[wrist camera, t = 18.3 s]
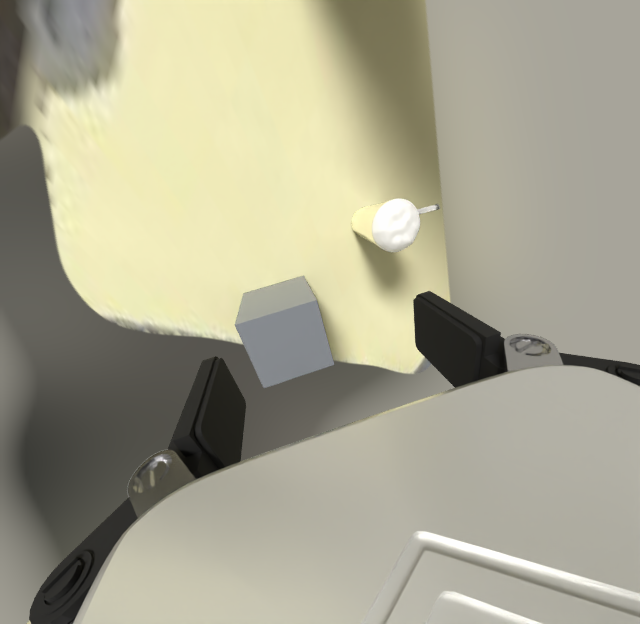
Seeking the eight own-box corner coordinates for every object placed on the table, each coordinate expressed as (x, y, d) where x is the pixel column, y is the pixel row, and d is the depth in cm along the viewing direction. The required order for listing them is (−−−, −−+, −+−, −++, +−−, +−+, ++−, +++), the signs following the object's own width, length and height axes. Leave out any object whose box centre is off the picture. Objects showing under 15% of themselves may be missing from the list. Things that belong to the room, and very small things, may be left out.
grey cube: (243, 293, 29) (234, 325, 21) (303, 275, 30) (316, 299, 22) (264, 344, 33) (263, 388, 25) (318, 327, 33) (334, 364, 25)
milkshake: (392, 224, 30) (447, 230, 21) (356, 248, 30) (395, 265, 21) (377, 188, 28) (430, 179, 19) (338, 215, 28) (373, 218, 19)
